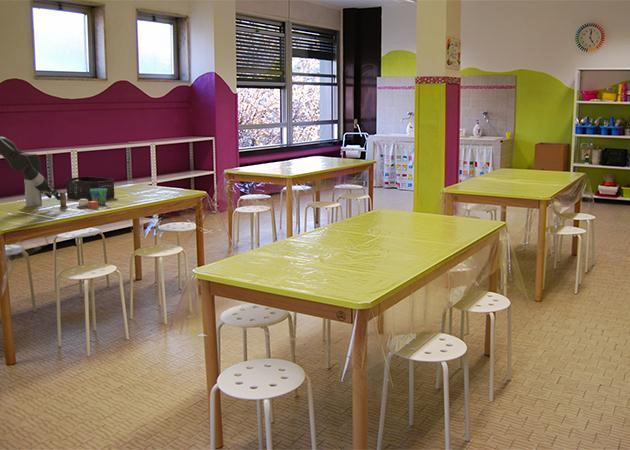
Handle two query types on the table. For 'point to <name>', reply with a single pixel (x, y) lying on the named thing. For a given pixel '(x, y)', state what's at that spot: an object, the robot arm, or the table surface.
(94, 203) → the board
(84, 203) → the dome
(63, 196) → the pawn
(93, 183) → the storage bin
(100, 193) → the snack cup
